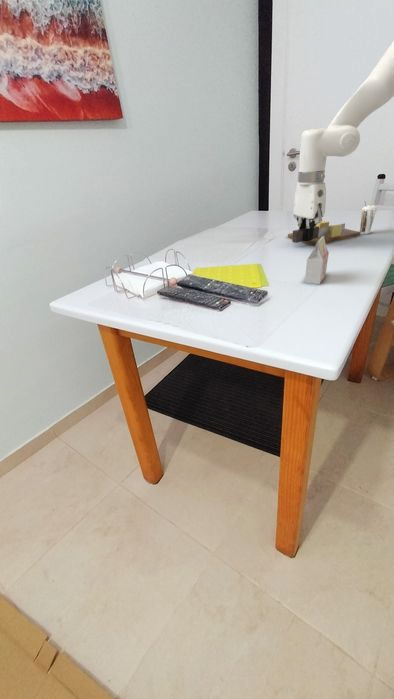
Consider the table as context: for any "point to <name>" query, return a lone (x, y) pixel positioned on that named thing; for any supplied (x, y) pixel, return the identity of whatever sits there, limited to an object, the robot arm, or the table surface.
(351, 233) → the board
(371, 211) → the milkshake
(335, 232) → the butter slice
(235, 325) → the table surface
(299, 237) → the knife
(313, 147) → the robot arm
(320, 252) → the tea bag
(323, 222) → the butter block
